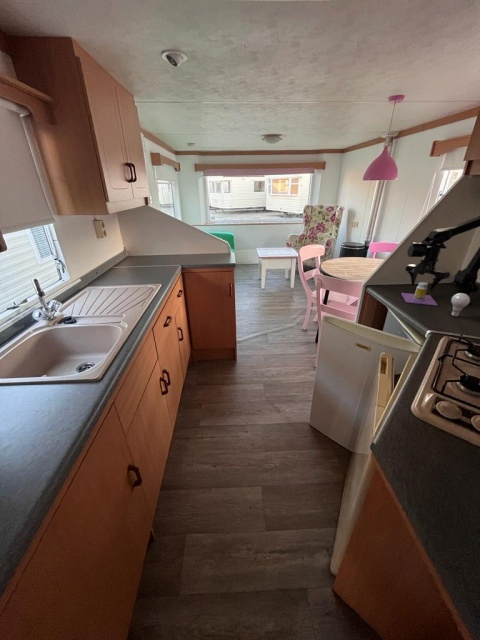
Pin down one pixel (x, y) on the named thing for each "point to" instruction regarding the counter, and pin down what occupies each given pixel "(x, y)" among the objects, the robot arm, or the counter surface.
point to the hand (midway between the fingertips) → (421, 287)
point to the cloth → (410, 299)
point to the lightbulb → (459, 303)
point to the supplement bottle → (421, 291)
